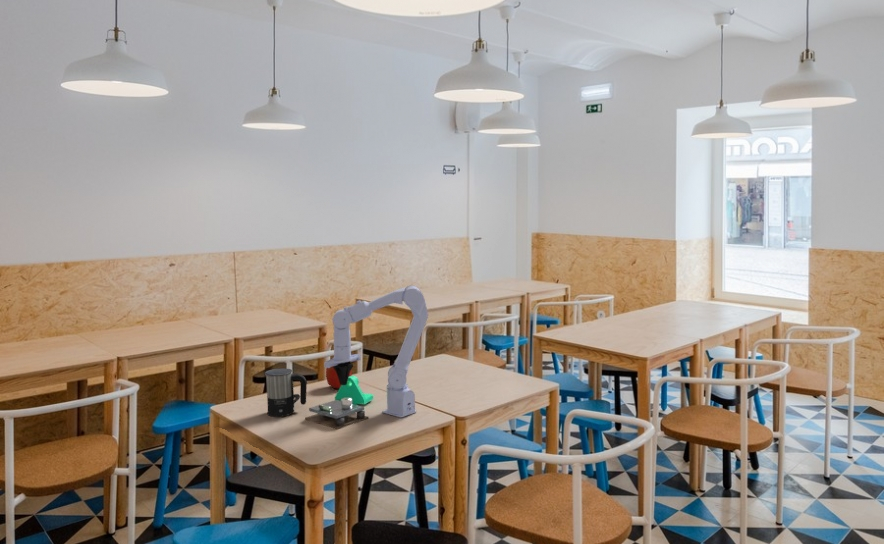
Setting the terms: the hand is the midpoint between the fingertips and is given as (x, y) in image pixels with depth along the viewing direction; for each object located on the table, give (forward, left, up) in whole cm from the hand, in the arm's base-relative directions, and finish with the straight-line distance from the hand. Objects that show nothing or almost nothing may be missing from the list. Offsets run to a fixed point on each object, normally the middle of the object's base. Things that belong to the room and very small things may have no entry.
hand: (343, 384), depth 227 cm
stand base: (-2, +5, -10) cm, 12 cm away
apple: (+27, -21, -11) cm, 36 cm away
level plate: (-2, +5, -7) cm, 9 cm away
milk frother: (+21, +10, -11) cm, 25 cm away
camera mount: (+8, -12, -11) cm, 18 cm away
